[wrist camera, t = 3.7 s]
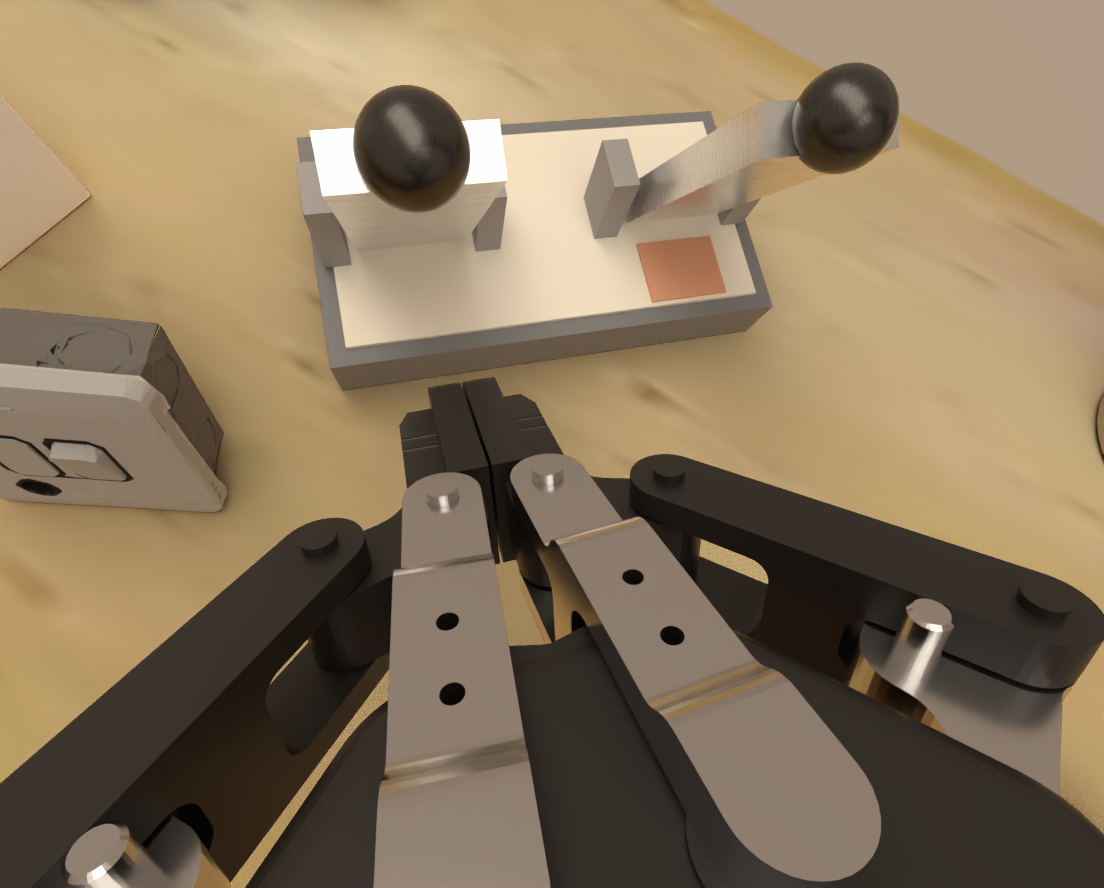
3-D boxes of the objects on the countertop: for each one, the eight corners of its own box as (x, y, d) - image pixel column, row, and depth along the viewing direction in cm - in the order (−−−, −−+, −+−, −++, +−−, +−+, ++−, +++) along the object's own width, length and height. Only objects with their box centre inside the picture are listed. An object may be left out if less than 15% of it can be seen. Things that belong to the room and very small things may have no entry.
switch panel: (690, 149, 36) (745, 44, 29) (745, 330, 34) (820, 263, 27) (310, 179, 32) (271, 64, 25) (342, 390, 29) (308, 327, 23)
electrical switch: (0, 501, 26) (-222, 424, 17) (38, 393, 28) (-147, 273, 19) (230, 515, 27) (130, 449, 19) (252, 411, 29) (170, 307, 20)
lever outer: (458, 188, 28) (507, 60, 14) (468, 255, 28) (524, 191, 15) (347, 197, 27) (288, 69, 13) (360, 266, 27) (317, 209, 14)
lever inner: (713, 166, 30) (953, 40, 17) (717, 228, 31) (951, 153, 18) (620, 174, 29) (799, 47, 16) (626, 237, 30) (803, 166, 17)
